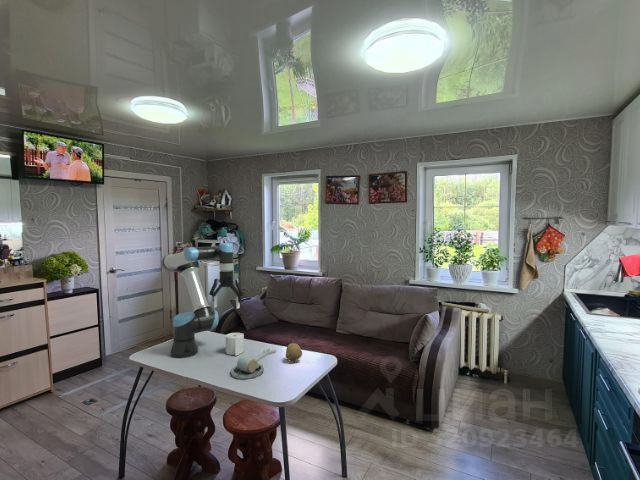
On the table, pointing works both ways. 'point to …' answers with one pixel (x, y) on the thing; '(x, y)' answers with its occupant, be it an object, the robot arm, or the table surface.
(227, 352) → the toilet tissue
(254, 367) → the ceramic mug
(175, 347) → the robot arm
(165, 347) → the table surface
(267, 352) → the adjustable wrench
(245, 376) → the flange seat
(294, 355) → the natural sponge
